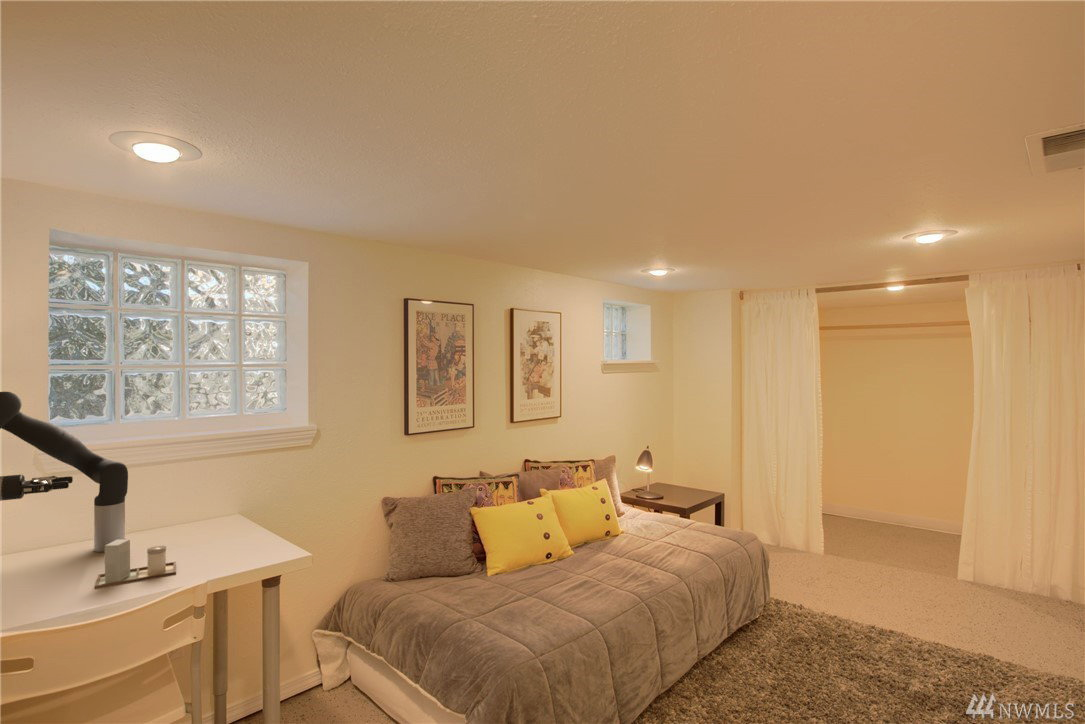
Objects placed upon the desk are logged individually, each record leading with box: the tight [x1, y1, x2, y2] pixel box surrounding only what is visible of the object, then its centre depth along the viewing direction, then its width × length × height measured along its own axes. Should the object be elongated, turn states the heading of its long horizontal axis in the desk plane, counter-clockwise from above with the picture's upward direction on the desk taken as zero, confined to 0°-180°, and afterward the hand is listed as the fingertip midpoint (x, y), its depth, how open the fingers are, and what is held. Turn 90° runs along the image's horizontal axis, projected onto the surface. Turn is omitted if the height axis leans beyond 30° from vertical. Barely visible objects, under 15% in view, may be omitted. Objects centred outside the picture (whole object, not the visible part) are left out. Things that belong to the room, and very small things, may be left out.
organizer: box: [94, 561, 177, 589], centre depth 183 cm, size 11×21×2 cm, turn 124°
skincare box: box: [104, 538, 131, 583], centre depth 180 cm, size 6×4×12 cm
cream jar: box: [146, 545, 167, 575], centre depth 185 cm, size 5×5×8 cm
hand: (70, 482), depth 181 cm, fingers open, 8 cm apart
